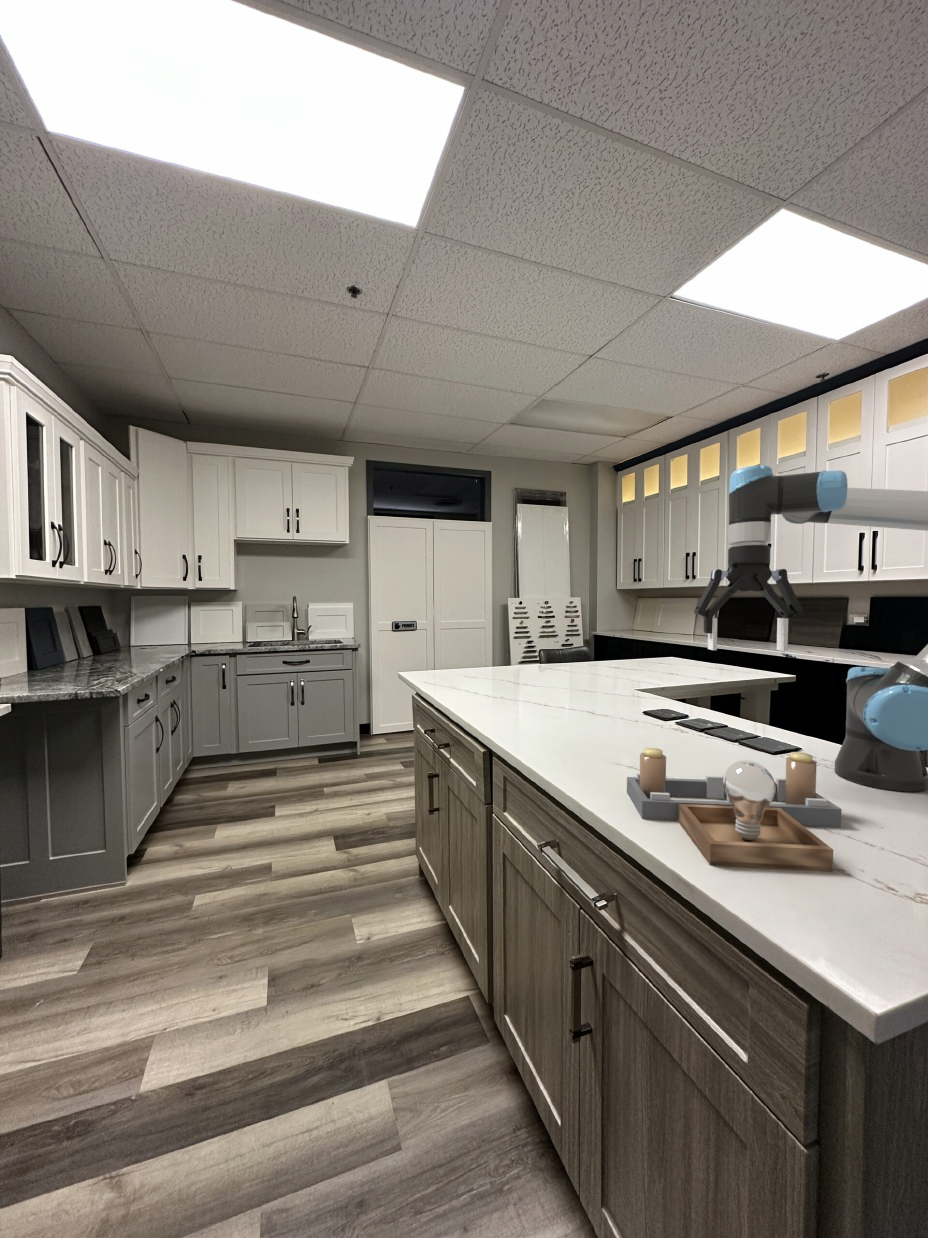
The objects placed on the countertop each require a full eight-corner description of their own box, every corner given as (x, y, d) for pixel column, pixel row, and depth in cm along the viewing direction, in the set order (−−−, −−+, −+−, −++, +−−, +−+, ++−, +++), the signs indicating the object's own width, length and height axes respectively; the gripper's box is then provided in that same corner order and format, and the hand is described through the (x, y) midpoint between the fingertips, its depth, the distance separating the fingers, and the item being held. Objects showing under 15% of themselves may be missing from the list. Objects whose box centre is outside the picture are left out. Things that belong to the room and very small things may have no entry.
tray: (779, 826, 83) (780, 808, 83) (832, 871, 69) (833, 849, 69) (678, 821, 85) (678, 803, 85) (710, 865, 71) (710, 844, 71)
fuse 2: (806, 806, 91) (807, 751, 91) (820, 817, 87) (822, 759, 86) (780, 805, 91) (781, 750, 91) (793, 816, 87) (794, 758, 87)
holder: (800, 798, 95) (800, 777, 94) (841, 827, 83) (841, 803, 83) (626, 792, 98) (627, 771, 98) (642, 818, 86) (642, 795, 86)
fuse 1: (661, 801, 93) (662, 747, 93) (668, 811, 89) (669, 754, 89) (636, 800, 94) (637, 746, 94) (642, 809, 90) (643, 753, 89)
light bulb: (782, 853, 73) (784, 770, 72) (729, 848, 74) (731, 767, 74) (764, 832, 80) (766, 756, 79) (716, 827, 81) (717, 753, 81)
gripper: (803, 546, 106) (801, 648, 107) (679, 548, 108) (677, 647, 109) (825, 542, 98) (822, 652, 99) (691, 544, 101) (689, 651, 102)
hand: (746, 650), depth 104 cm, fingers open, 13 cm apart
